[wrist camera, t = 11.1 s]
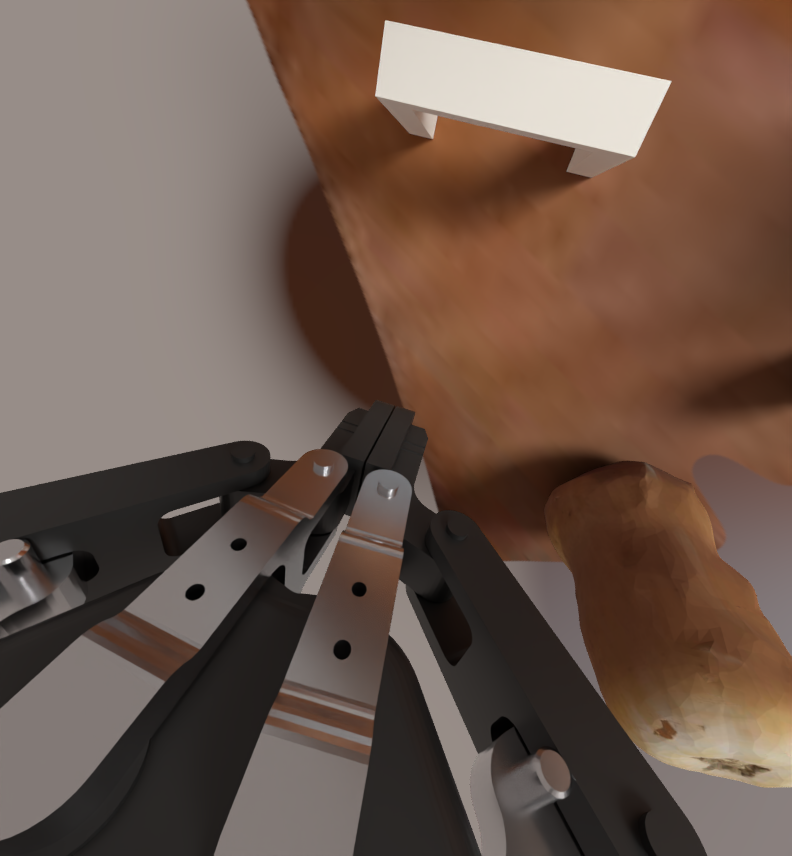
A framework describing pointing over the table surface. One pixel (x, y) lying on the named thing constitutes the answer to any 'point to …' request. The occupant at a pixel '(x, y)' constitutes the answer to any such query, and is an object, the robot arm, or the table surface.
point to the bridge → (516, 94)
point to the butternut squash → (673, 626)
